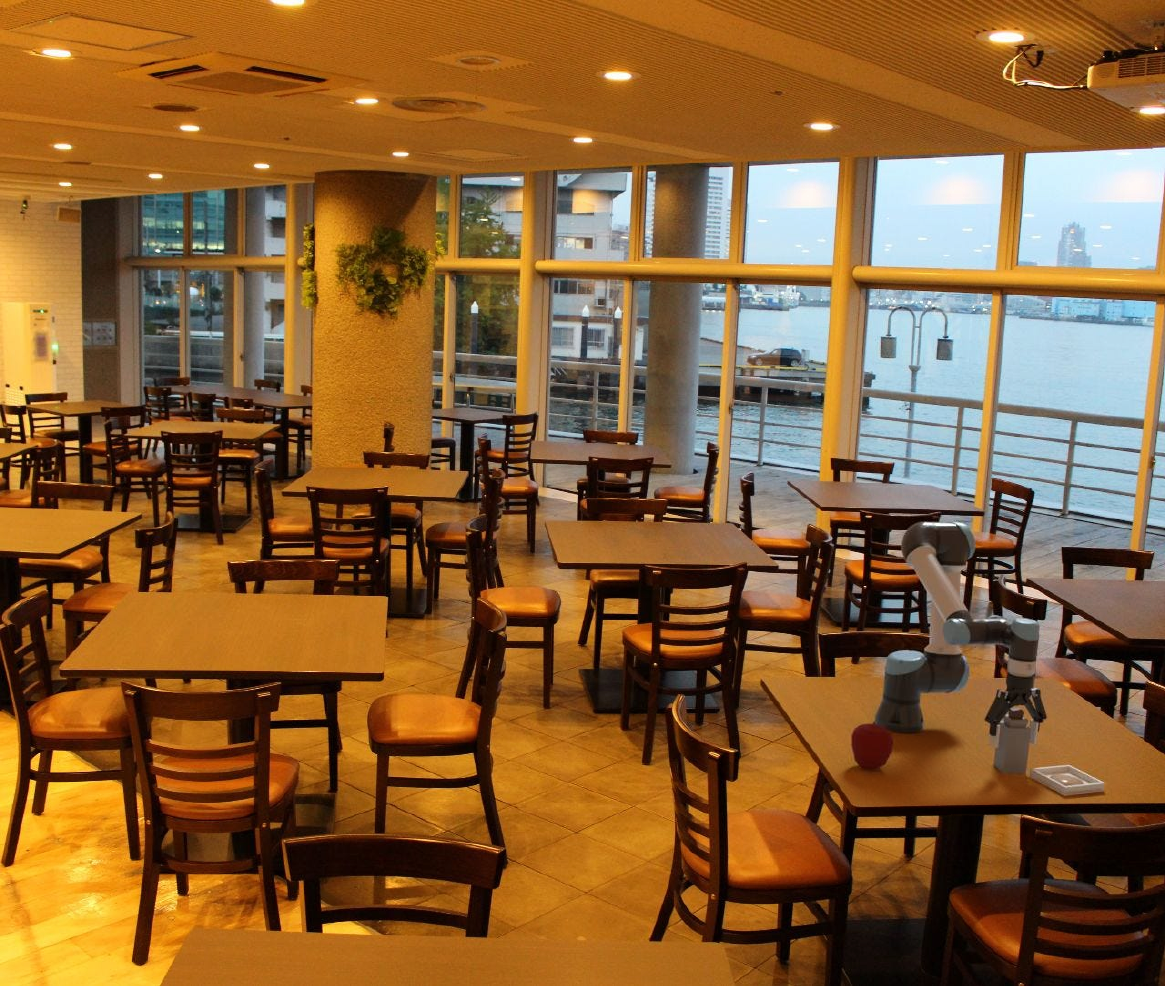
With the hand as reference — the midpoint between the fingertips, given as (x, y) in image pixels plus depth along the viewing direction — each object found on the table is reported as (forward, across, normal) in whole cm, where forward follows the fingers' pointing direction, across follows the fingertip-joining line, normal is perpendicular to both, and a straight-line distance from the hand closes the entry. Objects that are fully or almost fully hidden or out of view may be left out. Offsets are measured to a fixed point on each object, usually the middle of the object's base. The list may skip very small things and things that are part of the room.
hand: (1013, 744), depth 356 cm
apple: (+8, -41, +10) cm, 43 cm away
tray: (+8, +9, -13) cm, 17 cm away
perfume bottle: (+8, 0, 0) cm, 8 cm away
